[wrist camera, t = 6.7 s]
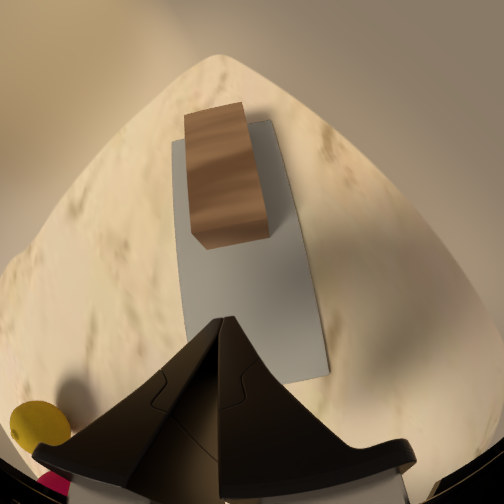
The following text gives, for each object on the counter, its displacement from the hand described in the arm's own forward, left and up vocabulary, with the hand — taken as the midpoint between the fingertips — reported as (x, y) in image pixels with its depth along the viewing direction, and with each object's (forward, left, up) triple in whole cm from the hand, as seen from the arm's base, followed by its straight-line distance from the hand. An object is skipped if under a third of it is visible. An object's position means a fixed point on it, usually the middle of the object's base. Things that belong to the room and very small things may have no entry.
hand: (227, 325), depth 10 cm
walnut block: (+6, -2, -8) cm, 10 cm away
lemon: (0, +23, -10) cm, 25 cm away
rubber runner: (+6, -2, -10) cm, 12 cm away
